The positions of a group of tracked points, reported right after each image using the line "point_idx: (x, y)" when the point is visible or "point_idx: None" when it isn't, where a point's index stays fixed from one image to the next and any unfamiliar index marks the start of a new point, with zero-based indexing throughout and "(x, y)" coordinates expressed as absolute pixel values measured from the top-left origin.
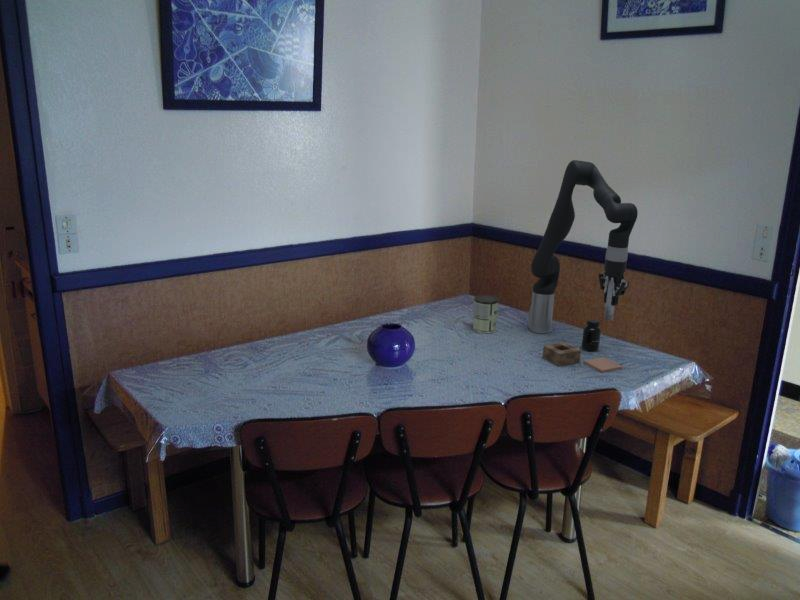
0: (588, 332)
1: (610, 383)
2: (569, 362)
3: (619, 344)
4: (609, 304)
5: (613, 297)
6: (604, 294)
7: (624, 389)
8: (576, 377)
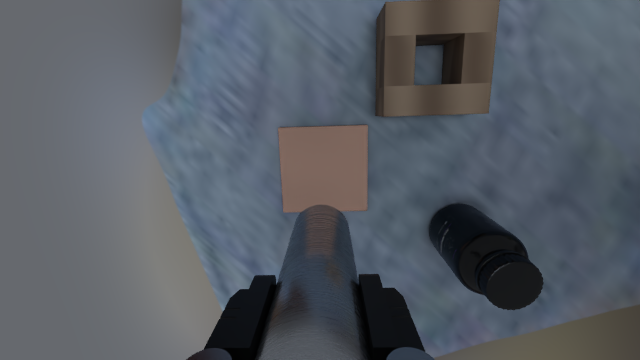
0: (479, 231)
1: (202, 95)
2: (377, 66)
3: (442, 333)
4: (289, 266)
5: (230, 335)
6: (415, 337)
7: (152, 105)
8: (276, 16)
